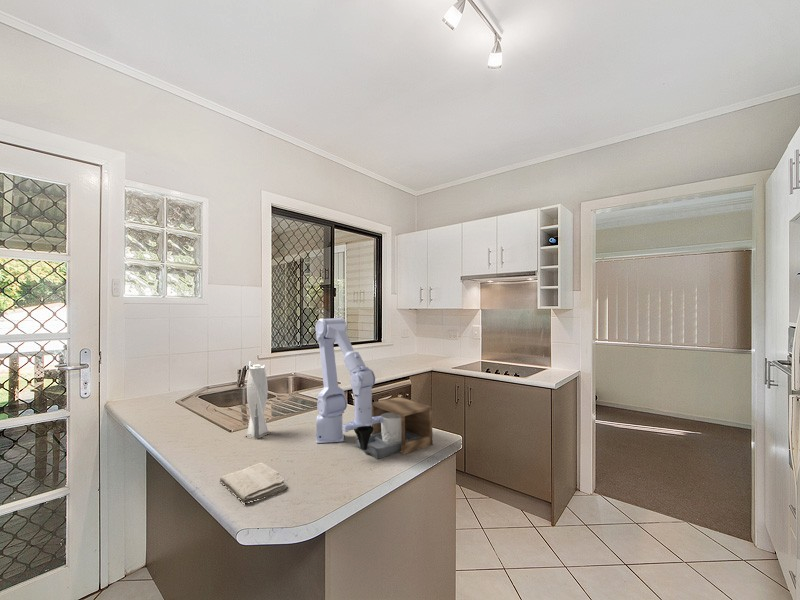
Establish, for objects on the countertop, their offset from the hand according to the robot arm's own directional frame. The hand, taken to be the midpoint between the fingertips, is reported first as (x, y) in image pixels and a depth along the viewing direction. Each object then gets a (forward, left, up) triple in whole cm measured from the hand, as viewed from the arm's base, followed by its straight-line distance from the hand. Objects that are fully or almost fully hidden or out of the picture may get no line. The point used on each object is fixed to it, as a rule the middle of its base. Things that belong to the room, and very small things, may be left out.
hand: (363, 449), depth 116 cm
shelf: (+14, +8, -1) cm, 16 cm away
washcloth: (-30, -16, -2) cm, 34 cm away
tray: (+9, +5, -1) cm, 10 cm away
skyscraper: (-40, +25, -2) cm, 47 cm away
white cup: (+10, +6, -2) cm, 12 cm away
